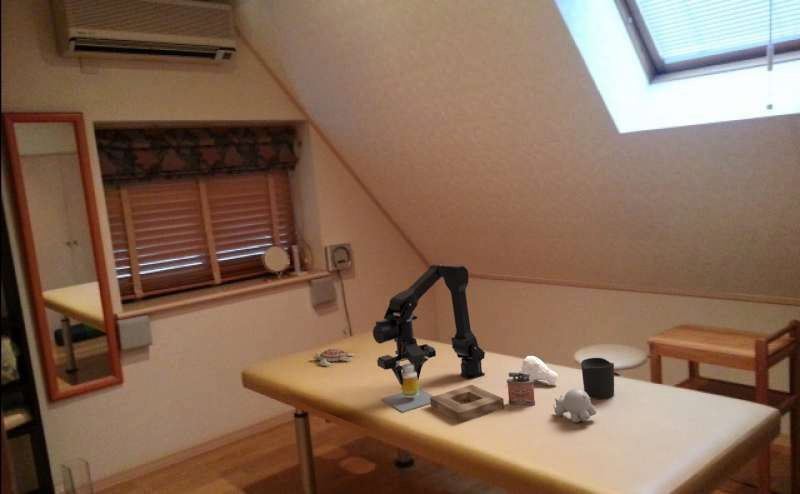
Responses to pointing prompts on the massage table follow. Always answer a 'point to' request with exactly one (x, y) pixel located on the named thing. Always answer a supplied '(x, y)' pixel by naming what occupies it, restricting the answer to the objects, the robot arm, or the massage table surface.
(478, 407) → the pocket block
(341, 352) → the decorative turtle
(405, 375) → the supplement bottle
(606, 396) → the pen holder
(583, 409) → the round bodied animal figurine
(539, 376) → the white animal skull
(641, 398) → the massage table surface
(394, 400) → the mat
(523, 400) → the lighter
